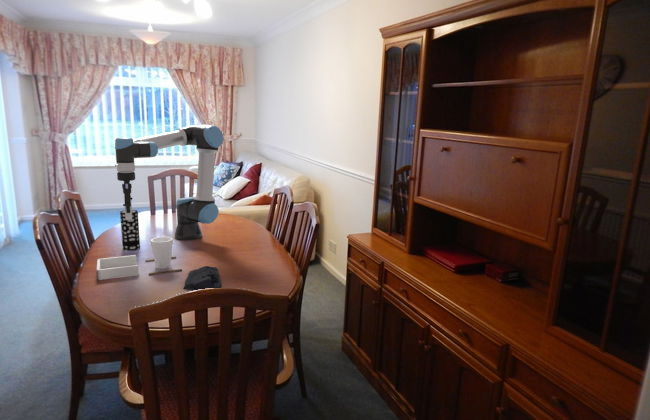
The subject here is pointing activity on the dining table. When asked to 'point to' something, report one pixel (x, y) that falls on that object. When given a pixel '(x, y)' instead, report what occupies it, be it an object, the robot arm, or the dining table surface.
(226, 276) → the dining table surface
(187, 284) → the dark slate chunk
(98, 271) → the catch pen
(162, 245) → the foam cup
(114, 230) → the dining table surface
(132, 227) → the white-spotted black cylinder
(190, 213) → the robot arm
